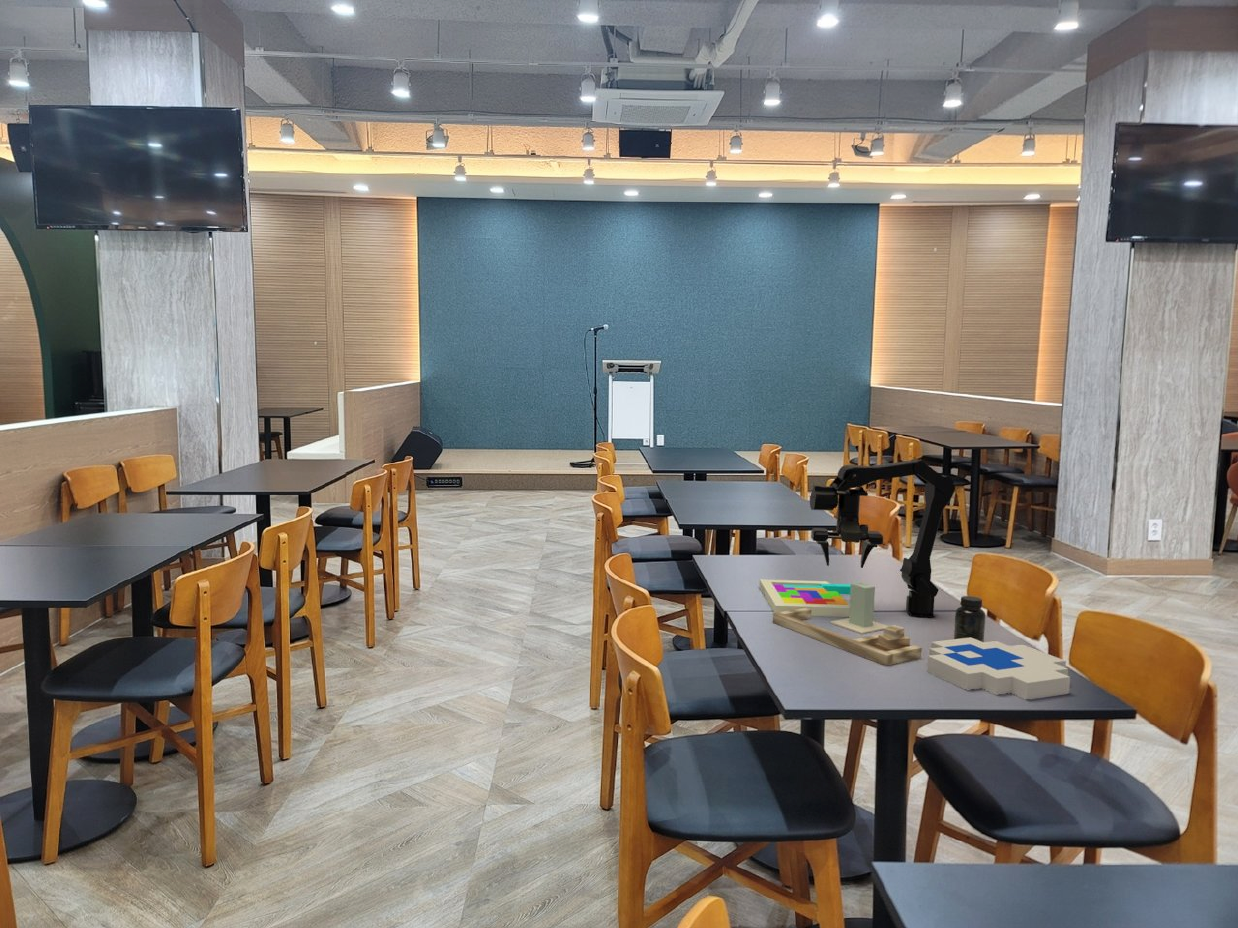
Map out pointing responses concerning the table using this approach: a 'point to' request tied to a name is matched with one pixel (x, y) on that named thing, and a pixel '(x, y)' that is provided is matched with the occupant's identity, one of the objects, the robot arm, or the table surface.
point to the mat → (858, 629)
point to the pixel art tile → (998, 668)
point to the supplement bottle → (970, 619)
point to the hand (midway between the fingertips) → (844, 566)
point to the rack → (845, 639)
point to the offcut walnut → (885, 647)
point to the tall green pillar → (861, 604)
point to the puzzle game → (807, 596)
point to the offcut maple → (893, 632)
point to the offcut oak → (894, 641)
